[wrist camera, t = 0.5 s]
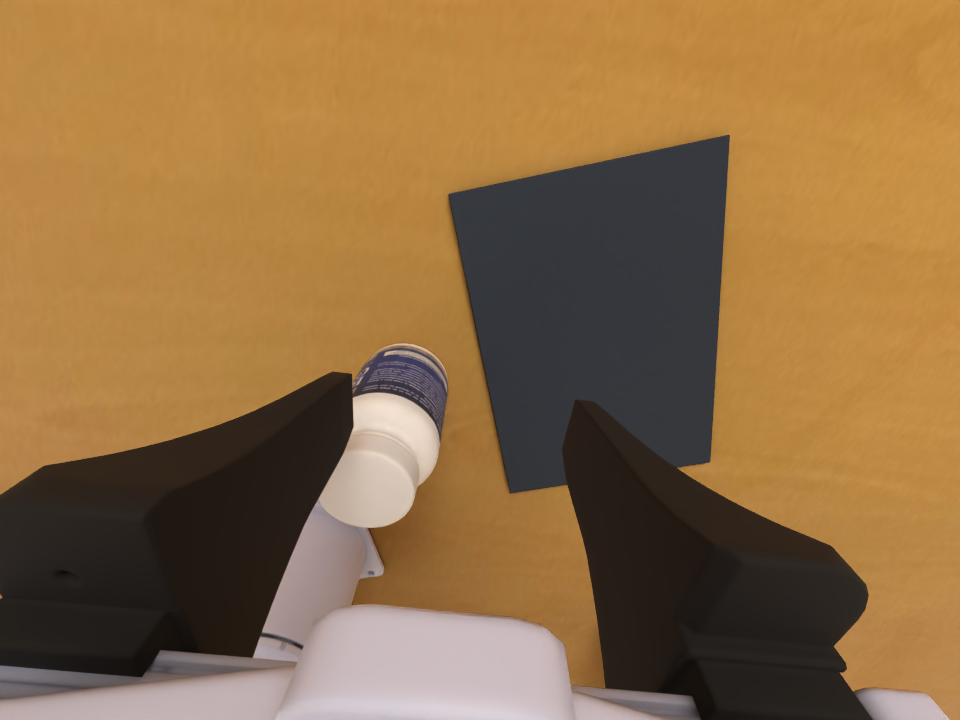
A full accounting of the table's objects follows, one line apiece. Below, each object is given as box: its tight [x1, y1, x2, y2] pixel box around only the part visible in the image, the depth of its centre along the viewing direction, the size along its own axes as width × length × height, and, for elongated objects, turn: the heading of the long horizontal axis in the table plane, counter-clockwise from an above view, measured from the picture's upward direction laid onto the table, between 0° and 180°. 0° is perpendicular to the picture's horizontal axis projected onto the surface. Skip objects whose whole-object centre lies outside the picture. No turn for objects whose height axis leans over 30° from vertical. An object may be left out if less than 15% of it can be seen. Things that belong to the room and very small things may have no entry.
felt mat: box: [449, 135, 730, 493], centre depth 23 cm, size 14×20×1 cm
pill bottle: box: [318, 343, 448, 528], centre depth 19 cm, size 5×5×10 cm
